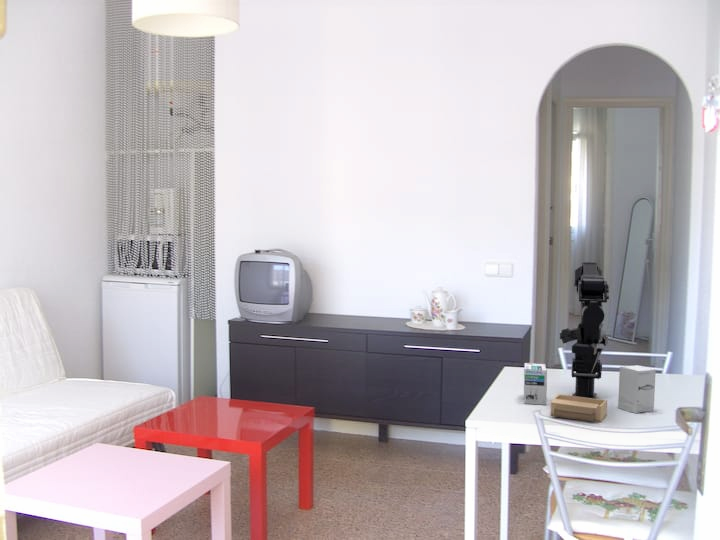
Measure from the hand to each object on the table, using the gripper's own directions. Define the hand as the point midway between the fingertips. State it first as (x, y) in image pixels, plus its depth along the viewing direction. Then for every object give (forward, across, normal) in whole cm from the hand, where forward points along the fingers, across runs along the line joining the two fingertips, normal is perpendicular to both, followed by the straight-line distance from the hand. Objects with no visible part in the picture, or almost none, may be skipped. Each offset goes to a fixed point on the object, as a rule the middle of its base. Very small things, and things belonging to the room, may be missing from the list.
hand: (589, 373), depth 221 cm
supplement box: (+12, -11, +12) cm, 20 cm away
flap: (+6, +11, -1) cm, 13 cm away
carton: (+11, +6, -1) cm, 13 cm away
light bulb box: (+12, -5, -17) cm, 22 cm away
